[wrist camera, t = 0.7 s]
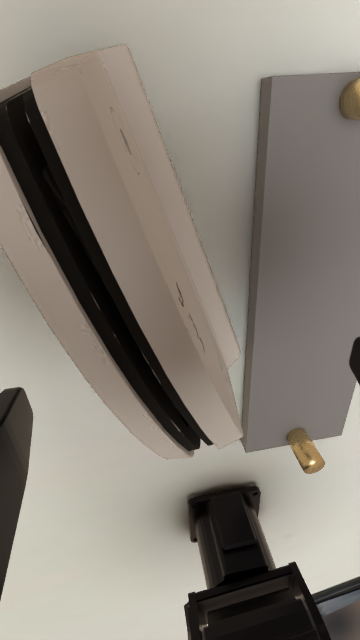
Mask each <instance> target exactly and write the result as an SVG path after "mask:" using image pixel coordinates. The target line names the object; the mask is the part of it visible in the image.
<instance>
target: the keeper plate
mask: <svg viewBox="0 0 360 640" xmlns="http://www.w3.org/2000/svg"><path fill="white" fill-rule="evenodd" d="M357 337H360V72H349V73H330V74H310V75H291V76H272V77H268V78H264V79H262V83H261V100H260V118H259V135H258V153H257V170H256V188H255V205H254V222H253V240H252V257H251V275H250V292H249V310H248V327H247V345H246V362H245V379H244V397H243V414H242V431H243V437H242V438H241V442H242V444H243V447H244V449H245V452H246V453H247V452H253V451H258V450H264V449H269V448H275V447H280V446H285V445H290V447H291V449H292V450H293V452H294V454H295V456H296V458H297V460H298V461H299V463H300V465H301V467H302V469H303V471H304V472H305V473H308V474H312V473H315V472H318V471H319V470H321V469H322V468H323V467H324V465H325V462H324V460H323V458H322V457H321V455H320V453H319V452H318V450H317V449H316V447H315V445H314V444H313V442H312V441H313V440H318V439H323V438H329V437H334V436H340V435H342V431H343V428H344V424H345V421H346V417H347V413H348V410H349V406H350V403H351V399H352V395H353V392H354V388H355V385H356V381H357V379H356V378H355V376H354V374H353V372H352V371H351V369H350V366H349V358H350V354H351V350H352V346H353V342H354V340H355V339H356V338H357Z"/></svg>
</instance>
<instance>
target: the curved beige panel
mask: <svg viewBox="0 0 360 640" xmlns="http://www.w3.org/2000/svg"><path fill="white" fill-rule="evenodd" d="M0 244H1V246H2V248H3V249H4V251H5V253H6V255H7V257H8V258H9V260H10V262H11V263H12V265H13V267H14V268H15V270H16V272H17V274H18V275H19V277H20V279H21V280H22V282H23V284H24V286H25V287H26V289H27V291H28V292H29V294H30V296H31V297H32V299H33V301H34V302H35V304H36V306H37V307H38V309H39V311H40V312H41V314H42V316H43V317H44V319H45V321H46V322H47V324H48V326H49V327H50V329H51V330H52V331H53V333H54V334H55V336H56V337H57V339H58V340H59V342H60V343H61V345H62V346H63V347H64V349H65V350H66V352H67V353H68V355H69V356H70V358H71V359H72V361H73V362H74V363H75V365H76V366H77V368H78V369H79V371H80V372H81V373H82V375H83V376H84V378H85V379H86V380H87V382H88V383H89V384H90V385H91V387H92V388H93V389H94V391H95V392H96V393H97V394H98V396H99V397H100V398H101V399H102V401H103V402H104V403H105V405H106V406H107V407H108V408H109V409H110V410H111V411H112V412H113V413H114V415H115V416H116V417H117V418H118V419H119V420H120V421H121V422H122V423H123V424H124V425H125V427H126V428H127V429H128V430H129V431H130V432H131V433H132V434H133V435H134V436H135V437H136V438H138V439H139V440H140V441H141V442H142V443H143V444H144V445H145V446H147V447H148V448H149V449H151V450H152V451H154V452H155V453H156V454H158V455H160V456H162V457H163V458H165V459H177V458H191V457H192V456H193V454H194V450H195V449H199V448H200V438H201V439H202V440H203V441H204V442H205V443H206V444H207V445H212V444H214V445H215V446H216V447H217V448H218V449H221V448H223V447H225V446H227V445H228V444H230V443H232V442H234V441H236V440H238V439H240V438H242V437H243V431H242V427H241V423H240V419H239V415H238V411H237V407H236V402H235V398H234V394H233V390H232V386H231V382H230V378H229V374H228V369H229V367H230V366H231V365H232V363H233V362H234V361H235V360H236V359H237V358H238V357H239V355H240V354H241V351H240V348H239V345H238V342H237V339H236V336H235V334H234V331H233V328H232V326H231V323H230V320H229V317H228V315H227V312H226V309H225V307H224V304H223V301H222V299H221V296H220V293H219V290H218V288H217V285H216V282H215V280H214V277H213V274H212V272H211V269H210V266H209V264H208V261H207V258H206V255H205V253H204V250H203V247H202V245H201V242H200V239H199V237H198V234H197V231H196V228H195V226H194V223H193V220H192V218H191V215H190V212H189V210H188V207H187V204H186V201H185V199H184V196H183V193H182V191H181V188H180V185H179V183H178V180H177V177H176V175H175V172H174V169H173V166H172V164H171V161H170V158H169V156H168V153H167V150H166V148H165V145H164V142H163V139H162V137H161V134H160V131H159V129H158V126H157V123H156V121H155V118H154V115H153V113H152V110H151V107H150V104H149V102H148V99H147V96H146V94H145V91H144V88H143V86H142V83H141V80H140V77H139V75H138V72H137V69H136V67H135V64H134V61H133V59H132V56H131V53H130V51H129V48H128V46H127V44H122V45H118V46H114V47H110V48H106V49H101V50H97V51H93V52H88V53H84V54H80V55H75V56H71V57H67V58H65V59H63V60H61V61H58V62H56V63H54V64H51V65H49V66H47V67H45V68H42V69H40V70H38V71H36V72H33V73H32V74H31V76H30V77H28V78H25V79H23V80H21V81H19V82H17V83H15V84H12V85H10V86H8V87H6V88H4V89H1V90H0Z"/></svg>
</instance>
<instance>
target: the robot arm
mask: <svg viewBox="0 0 360 640" xmlns="http://www.w3.org/2000/svg"><path fill="white" fill-rule="evenodd" d="M349 366H350V369H351V371H352V372H353V374H354V376H355V378H356V379H357V381H358V383H359V385H360V337H357V338H356V339H355V340H354V342H353V346H352V350H351V354H350V358H349ZM32 426H33V412H32V409H31V406H30V403H29V401H28V398H27V395H26V393H25V390H24V389H23V388H21V387H16V388H9V389H5V390H3V391H2V392H1V393H0V600H1V595H2V591H3V586H4V582H5V577H6V573H7V568H8V563H9V559H10V554H11V550H12V545H13V541H14V536H15V531H16V527H17V522H18V518H19V513H20V509H21V504H22V499H23V495H24V490H25V486H26V480H27V475H28V467H29V457H30V446H31V436H32ZM260 494H261V492H260V490H259V487H257V486H253V487H248V488H243V489H238V490H233V491H228V492H223V493H218V494H213V495H208V496H203V497H198V498H193V499H190V500H189V501H188V515H189V529H190V539H191V542H198V546H199V551H200V556H201V560H202V565H203V570H204V575H205V580H206V585H207V590H203V591H200V592H197V593H195V592H192V593H188V597H189V602H188V603H187V604H185V605H184V609H185V616H186V623H187V631H188V640H331V638H330V636H329V634H328V631H327V628H326V626H325V623H324V622H323V619H322V617H321V615H320V613H319V610H318V608H317V606H316V604H315V602H314V600H313V598H312V596H311V594H310V592H309V589H308V587H307V585H306V583H305V581H304V579H303V577H302V575H301V573H300V571H299V569H298V566H297V564H296V562H292V563H288V565H287V566H283V567H280V568H277V569H276V567H275V564H274V561H273V558H272V556H271V553H270V550H269V547H268V545H267V542H266V539H265V536H264V534H263V531H262V528H261V525H260V523H259V520H258V511H259V503H260ZM207 624H208V626H207Z"/></svg>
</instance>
